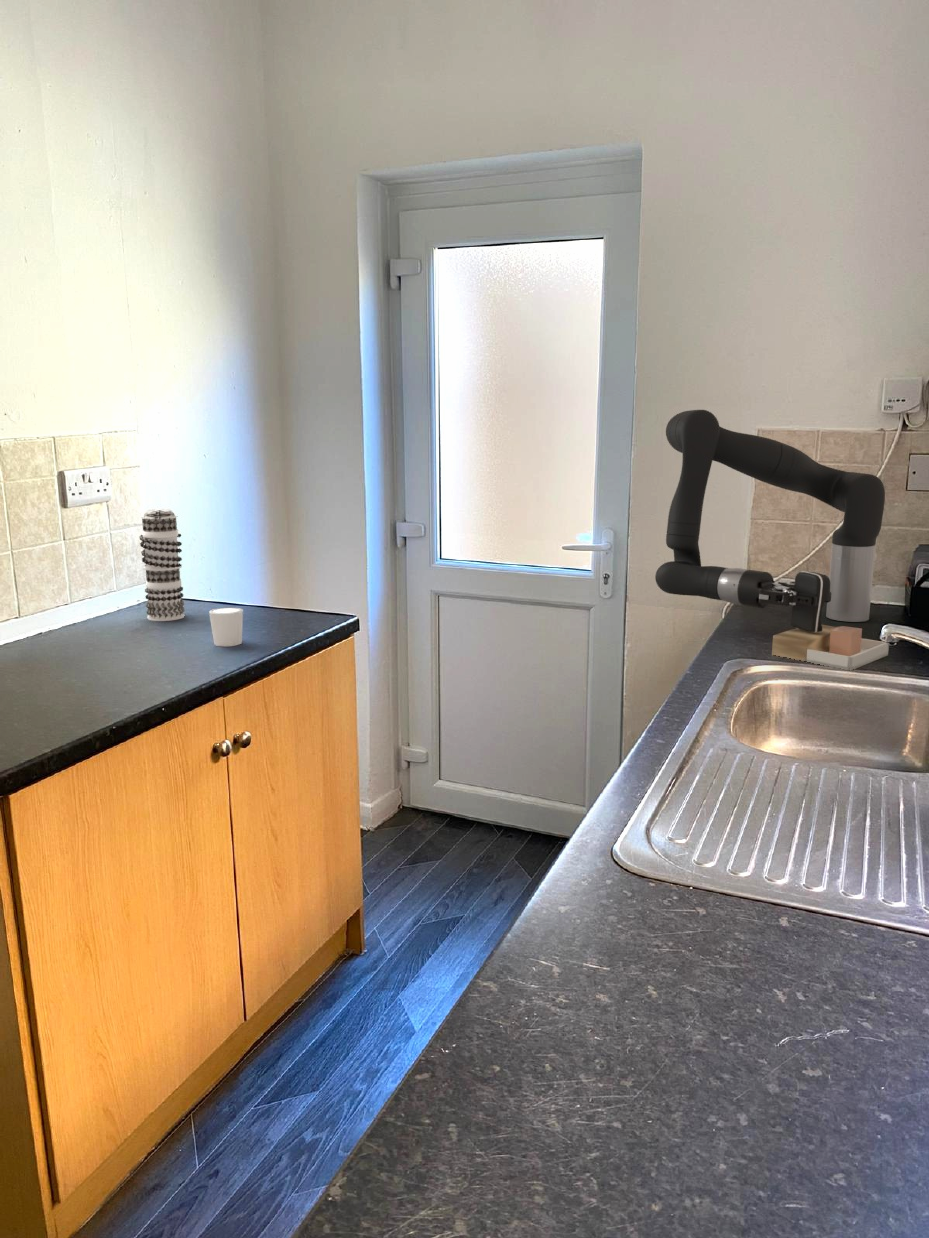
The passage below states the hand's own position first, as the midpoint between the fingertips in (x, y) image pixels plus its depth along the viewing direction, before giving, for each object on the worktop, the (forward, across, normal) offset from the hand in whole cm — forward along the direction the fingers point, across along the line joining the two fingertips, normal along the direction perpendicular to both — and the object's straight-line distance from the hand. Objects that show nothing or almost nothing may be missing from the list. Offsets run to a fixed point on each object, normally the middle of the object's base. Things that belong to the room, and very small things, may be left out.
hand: (823, 599), depth 187 cm
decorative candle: (-122, -76, +12) cm, 145 cm away
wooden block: (-2, 0, +11) cm, 11 cm away
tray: (+6, 0, +11) cm, 12 cm away
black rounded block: (-3, 0, +7) cm, 7 cm away
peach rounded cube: (+3, 0, +8) cm, 8 cm away
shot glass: (-89, -79, +12) cm, 120 cm away
